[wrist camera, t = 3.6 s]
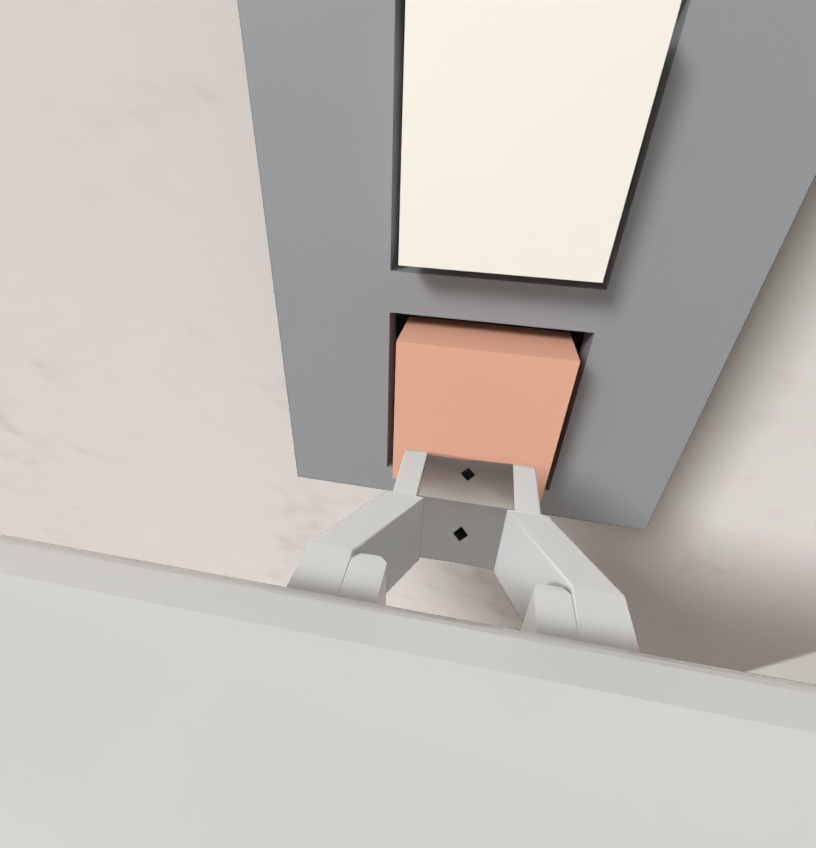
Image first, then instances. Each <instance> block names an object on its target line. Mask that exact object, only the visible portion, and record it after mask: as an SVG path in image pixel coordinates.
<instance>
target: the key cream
mask: <svg viewBox="0 0 816 848" xmlns="http://www.w3.org/2000/svg"><path fill="white" fill-rule="evenodd" d="M681 1H682V0H406V1H405V38H404V75H403V111H402V148H401V185H400V221H399V258H398V265H401V266H413V267H424V268H436V269H447V270H459V271H470V272H482V273H494V274H505V275H517V276H528V277H540V278H552V279H563V280H575V281H586V282H598V283H603V279H604V276H605V272H606V268H607V265H608V261H609V258H610V254H611V251H612V247H613V243H614V240H615V236H616V233H617V229H618V226H619V222H620V219H621V215H622V211H623V208H624V204H625V201H626V197H627V194H628V190H629V186H630V183H631V179H632V176H633V172H634V169H635V165H636V162H637V158H638V154H639V151H640V147H641V144H642V140H643V137H644V133H645V129H646V126H647V122H648V119H649V115H650V112H651V108H652V105H653V101H654V97H655V94H656V90H657V87H658V83H659V80H660V76H661V72H662V69H663V65H664V62H665V58H666V55H667V51H668V48H669V44H670V40H671V37H672V33H673V30H674V26H675V23H676V19H677V16H678V12H679V8H680V5H681Z"/></svg>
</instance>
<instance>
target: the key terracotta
mask: <svg viewBox="0 0 816 848" xmlns="http://www.w3.org/2000/svg"><path fill="white" fill-rule="evenodd" d="M579 365H580V359H579V356H578V353H577V351H576V348H575V345H574V342H573V340H572V337H571V334H570V332H564V331H554V330H544V329H534V328H524V327H514V326H504V325H494V324H484V323H475V322H465V321H455V320H445V319H435V318H425V317H415V316H409V318H408V320H407V322H406V324H405V326H404V328H403V330H402V331H401V333H400V335H399V337H398V339H397V341H396V368H395V405H394V441H393V478H394V479H397V476H398V473H399V469H400V466H401V463H402V460H403V457H404V453H405V451H406V450H407V449H413V450H420V451H427V452H433V453H440V454H446V455H452V456H458V457H465V458H470V459H476V460H484V461H491V462H499V463H506V464H521V465H530V466H534V467H535V468H536V475H537V483H538V492H539V500H542V496H543V493H544V489H545V486H546V482H547V479H548V475H549V471H550V468H551V464H552V461H553V457H554V454H555V450H556V447H557V443H558V439H559V436H560V432H561V429H562V425H563V422H564V418H565V414H566V411H567V407H568V404H569V400H570V397H571V393H572V390H573V386H574V382H575V379H576V375H577V372H578V368H579Z"/></svg>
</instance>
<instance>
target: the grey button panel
mask: <svg viewBox="0 0 816 848" xmlns="http://www.w3.org/2000/svg"><path fill="white" fill-rule="evenodd" d="M405 1H406V0H237V2H238V10H239V18H240V26H241V34H242V41H243V49H244V57H245V65H246V73H247V81H248V89H249V97H250V104H251V112H252V120H253V128H254V136H255V144H256V152H257V159H258V167H259V175H260V183H261V191H262V199H263V207H264V215H265V222H266V230H267V238H268V246H269V254H270V262H271V270H272V277H273V285H274V293H275V301H276V309H277V317H278V325H279V333H280V340H281V348H282V356H283V364H284V372H285V380H286V388H287V395H288V403H289V411H290V419H291V427H292V435H293V443H294V451H295V458H296V466H297V474H298V477H305V478H311V479H318V480H324V481H331V482H337V483H344V484H350V485H357V486H363V487H370V488H376V489H383V490H389V491H393V489H394V486H395V482H396V479H394V478H393V441H394V405H395V368H396V341H397V339H398V337H399V335H400V333H401V331H402V330H403V328H404V326H405V324H406V322H407V320H408V318H409V316H415V317H425V318H435V319H445V320H455V321H465V322H475V323H484V324H494V325H504V326H514V327H524V328H534V329H544V330H554V331H564V332H570V334H571V337H572V340H573V342H574V345H575V348H576V351H577V353H578V356H579V359H580V365H579V368H578V372H577V375H576V379H575V382H574V386H573V390H572V393H571V397H570V400H569V404H568V407H567V411H566V414H565V418H564V422H563V425H562V429H561V432H560V436H559V439H558V443H557V447H556V450H555V454H554V457H553V461H552V464H551V468H550V471H549V475H548V479H547V482H546V486H545V489H544V493H543V496H542V500H540V509H541V514H546V515H552V516H559V517H565V518H572V519H578V520H585V521H591V522H598V523H604V524H611V525H618V526H624V527H631V528H637V529H644V530H645V528H646V526H647V524H648V522H649V520H650V518H651V516H652V514H653V512H654V510H655V508H656V506H657V503H658V501H659V499H660V497H661V495H662V493H663V491H664V489H665V487H666V485H667V483H668V481H669V478H670V476H671V474H672V472H673V470H674V468H675V466H676V464H677V462H678V460H679V458H680V456H681V453H682V451H683V449H684V447H685V445H686V443H687V441H688V439H689V437H690V435H691V433H692V431H693V428H694V426H695V424H696V422H697V420H698V418H699V416H700V414H701V412H702V410H703V408H704V406H705V403H706V401H707V399H708V397H709V395H710V393H711V391H712V389H713V387H714V385H715V383H716V381H717V378H718V376H719V374H720V372H721V370H722V368H723V366H724V364H725V362H726V360H727V358H728V356H729V354H730V351H731V349H732V347H733V345H734V343H735V341H736V339H737V337H738V335H739V333H740V331H741V329H742V326H743V324H744V322H745V320H746V318H747V316H748V314H749V312H750V310H751V308H752V306H753V304H754V301H755V299H756V297H757V295H758V293H759V291H760V289H761V287H762V285H763V283H764V281H765V279H766V276H767V274H768V272H769V270H770V268H771V266H772V264H773V262H774V260H775V258H776V256H777V254H778V251H779V249H780V247H781V245H782V243H783V241H784V239H785V237H786V235H787V233H788V231H789V229H790V226H791V224H792V222H793V220H794V218H795V216H796V214H797V212H798V210H799V208H800V206H801V204H802V201H803V199H804V197H805V195H806V193H807V191H808V189H809V187H810V185H811V183H812V181H813V179H814V176H815V174H816V0H682V1H681V5H680V8H679V12H678V16H677V19H676V23H675V26H674V30H673V33H672V37H671V40H670V44H669V48H668V51H667V55H666V58H665V62H664V65H663V69H662V72H661V76H660V80H659V83H658V87H657V90H656V94H655V97H654V101H653V105H652V108H651V112H650V115H649V119H648V122H647V126H646V129H645V133H644V137H643V140H642V144H641V147H640V151H639V154H638V158H637V162H636V165H635V169H634V172H633V176H632V179H631V183H630V186H629V190H628V194H627V197H626V201H625V204H624V208H623V211H622V215H621V219H620V222H619V226H618V229H617V233H616V236H615V240H614V243H613V247H612V251H611V254H610V258H609V261H608V265H607V268H606V272H605V276H604V279H603V283H598V282H586V281H575V280H563V279H552V278H540V277H528V276H517V275H505V274H494V273H482V272H470V271H459V270H447V269H436V268H424V267H413V266H401V265H398V258H399V221H400V185H401V148H402V111H403V75H404V38H405Z"/></svg>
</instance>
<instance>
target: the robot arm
mask: <svg viewBox="0 0 816 848" xmlns="http://www.w3.org/2000/svg"><path fill="white" fill-rule="evenodd" d="M419 557H422V558H429V559H436V560H443V561H450V562H457V563H462V564H467V565H472V566H477V567H482V568H487V569H492V570H494V573H495V575H496V577H497V578H498V580H499V582H500V584H501V585H502V587H503V589H504V591H505V592H506V594H507V596H508V598H509V599H510V601H511V603H512V604H513V606H514V608H515V610H516V611H517V613H518V615H519V617H520V618H521V620H522V622H523V625H522V628H521V630H516V629H510V628H505V627H499V626H494V625H488V624H483V623H478V622H472V621H467V620H461V619H456V618H450V617H445V616H440V615H434V614H429V613H423V612H418V611H412V610H407V609H401V608H396V607H391V606H386V593H387V592H388V591H389V590H390V589H391V588H392V587H393V586H394V585H395V583H396V582H397V581H398V580H399V579H400V578H401V577H402V576H403V575H404V574H405V573H406V572H407V571H408V570H409V569H410V568H411V567H412V566H413V565H414V564H415V563H416V562H417V561H418V560H419ZM456 560H457V561H456ZM0 848H816V685H813V684H808V683H803V682H797V681H792V680H786V679H781V678H776V677H770V676H765V675H759V674H754V673H748V672H743V671H738V670H732V669H727V668H721V667H716V666H710V665H705V664H699V663H694V662H688V661H683V660H677V659H672V658H667V657H661V656H656V655H650V654H645V653H640V649H639V646H638V642H637V639H636V635H635V631H634V628H633V624H632V620H631V617H630V613H629V610H628V606H627V602H626V599H625V596H624V595H623V594H622V593H621V592H620V591H619V590H618V589H617V588H616V587H615V586H614V585H613V584H612V583H611V582H610V581H609V579H608V578H607V577H606V576H605V575H604V574H603V573H602V572H601V571H600V570H599V569H598V568H597V567H596V566H595V565H594V564H593V563H592V562H591V561H590V560H589V559H588V557H587V556H586V555H585V554H584V553H583V552H582V551H581V550H580V549H579V548H578V547H577V546H576V545H575V544H574V543H573V542H572V541H571V540H570V539H569V538H568V537H567V535H566V534H565V533H564V532H563V531H562V530H561V529H560V528H559V527H558V526H557V525H556V524H555V523H554V522H553V521H552V520H551V519H550V518H549V517H548V516H546V515H541V509H540V500H539V492H538V483H537V475H536V468H535V467H534V466H530V465H521V464H506V463H499V462H491V461H484V460H476V459H470V458H465V457H458V456H452V455H446V454H440V453H433V452H427V451H420V450H413V449H407V450H406V451H405V453H404V457H403V460H402V463H401V466H400V469H399V473H398V476H397V479H396V482H395V486H394V489H393V492H385V493H383V494H382V495H380V496H379V497H377V498H376V499H374V500H373V501H371V502H369V503H368V504H366V505H365V506H363V507H362V508H360V509H359V510H357V511H356V512H354V513H353V514H351V515H350V516H348V517H347V518H345V519H343V520H342V521H340V522H339V523H337V524H336V525H334V526H333V527H331V528H330V529H328V530H327V531H325V532H324V533H322V534H320V535H319V536H317V537H316V538H314V539H313V540H311V541H310V542H309V543H308V545H307V547H306V549H305V551H304V553H303V555H302V557H301V559H300V561H299V563H298V565H297V567H296V569H295V571H294V573H293V575H292V577H291V579H290V582H289V584H288V586H287V587H282V586H277V585H271V584H266V583H260V582H255V581H250V580H244V579H239V578H233V577H228V576H222V575H217V574H212V573H206V572H201V571H195V570H190V569H184V568H179V567H174V566H168V565H163V564H157V563H152V562H147V561H141V560H136V559H130V558H125V557H119V556H114V555H109V554H103V553H98V552H92V551H87V550H82V549H76V548H71V547H65V546H60V545H54V544H49V543H44V542H38V541H33V540H27V539H22V538H17V537H11V536H6V535H0Z"/></svg>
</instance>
